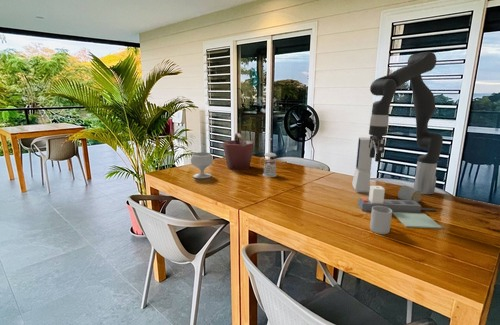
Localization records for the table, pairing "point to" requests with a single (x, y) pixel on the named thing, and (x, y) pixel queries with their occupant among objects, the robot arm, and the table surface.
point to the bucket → (238, 153)
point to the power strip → (393, 205)
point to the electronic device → (362, 166)
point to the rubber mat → (416, 220)
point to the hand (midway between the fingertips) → (374, 159)
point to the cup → (380, 219)
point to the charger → (376, 194)
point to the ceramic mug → (409, 194)
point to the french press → (267, 170)
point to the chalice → (201, 163)
